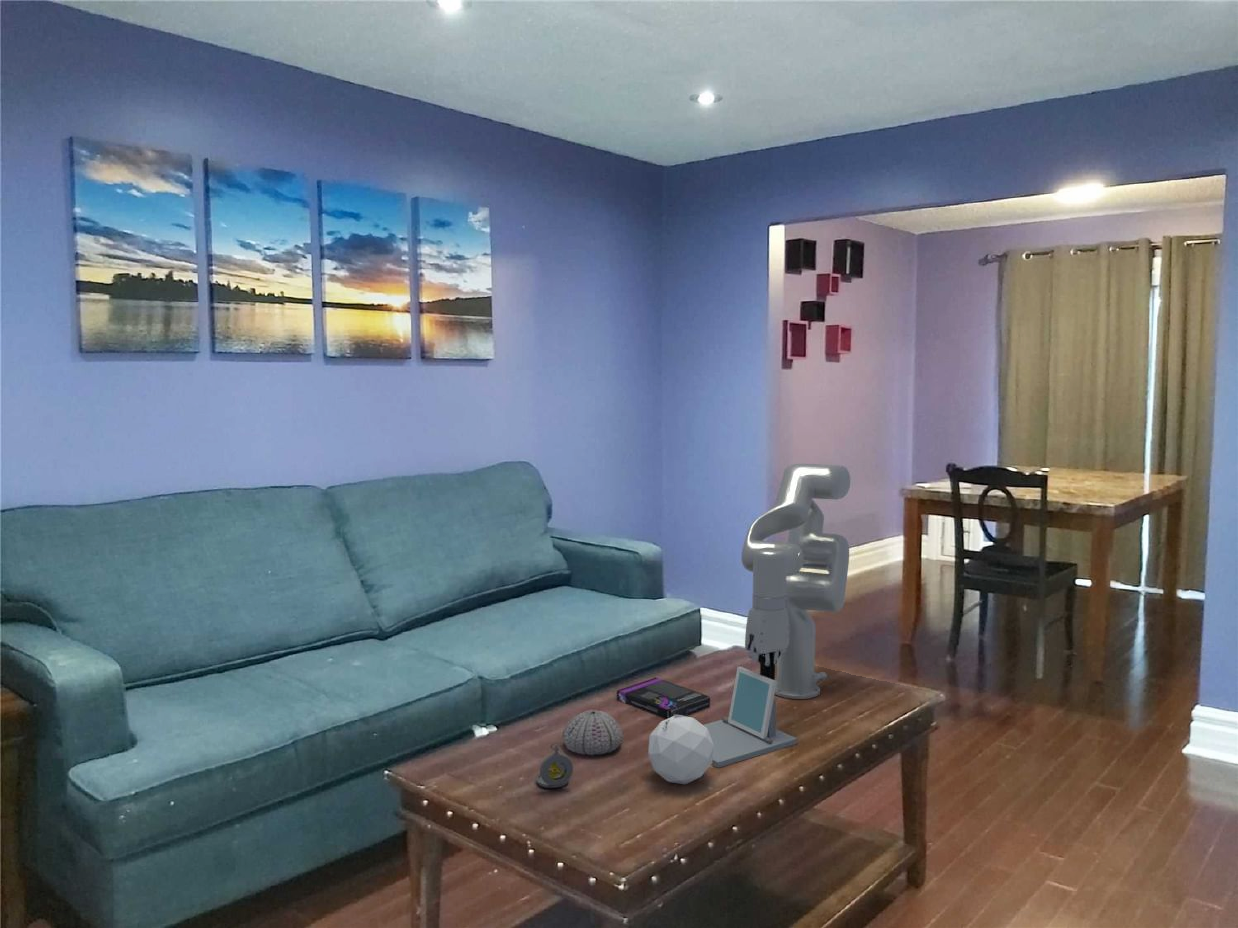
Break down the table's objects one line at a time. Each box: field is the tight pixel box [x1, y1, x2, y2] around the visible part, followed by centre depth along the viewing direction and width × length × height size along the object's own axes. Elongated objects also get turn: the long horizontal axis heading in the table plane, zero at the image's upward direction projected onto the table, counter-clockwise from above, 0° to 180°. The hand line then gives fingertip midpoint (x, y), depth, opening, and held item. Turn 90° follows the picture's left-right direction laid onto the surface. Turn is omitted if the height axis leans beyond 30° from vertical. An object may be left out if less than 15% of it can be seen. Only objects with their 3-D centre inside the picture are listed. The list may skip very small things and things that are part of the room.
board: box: [702, 698, 798, 769], centre depth 213 cm, size 23×18×9 cm
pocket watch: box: [535, 741, 574, 789], centre depth 191 cm, size 8×8×10 cm
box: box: [616, 676, 711, 720], centre depth 238 cm, size 14×4×20 cm
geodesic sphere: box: [647, 714, 714, 785], centre depth 193 cm, size 14×14×14 cm
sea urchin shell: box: [561, 709, 624, 756], centre depth 211 cm, size 13×14×8 cm
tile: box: [727, 666, 777, 739], centre depth 216 cm, size 13×12×1 cm
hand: (767, 680), depth 218 cm, fingers closed
